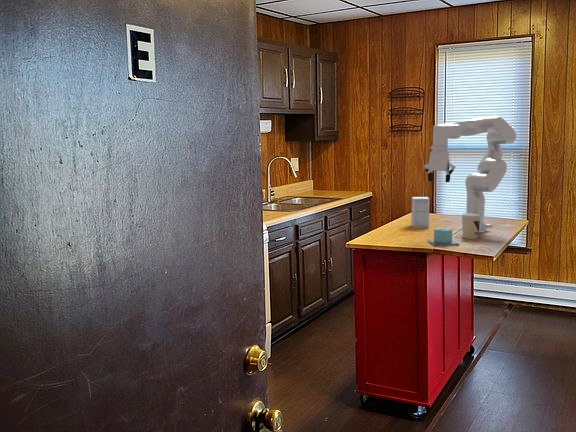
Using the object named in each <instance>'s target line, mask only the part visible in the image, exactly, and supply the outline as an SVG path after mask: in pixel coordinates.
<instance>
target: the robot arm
mask: <svg viewBox="0 0 576 432" xmlns="http://www.w3.org/2000/svg"><path fill="white" fill-rule="evenodd" d="M480 134H486V142H487V150H486V153H484V156H483V157H482V158H481V160H480V161H479V163H478V166H477V169H476V170H477V172H478V173H476V172H475V173H471V174H469V175H467V176H466V177H465V181H464V183H465V189H466V190H465V191H466V212H465V213H473V214H480V216H481V217H480V227H479V233H486V232H488V231H487V228H489V229H490V228H493V226H494V225H493V224H492V223H486V222H485V210H486V209H485V208H486V207H485V204H486V198H485V194H484V193H491V192H494V191H495V190H496V189H497V188H498V186H499V185H500V183H501V181H502V180H503V178H504V177H505V175H506V173H507V171H508V164H507V163H506V161H505V160H504V159H502V157H503V154H504V153H503V150H502V146H501V145H512V144H513V143H514V142H516V140H517V132H516V130H515V129H514V128H513V127H512V125H511V124H509V123H508V122H507V121H506V120H505V119H504V118H503V117H501V116H498V115H493V116H490V115H489V116H488V115H487V116H481V117H476V118H472V119H466V120H459V121H455V122H448V123H443V124H435V125H433V128H432V145H431V146H430V150H431V151H430V153H429V160H428V163H426V164H424V165H423V167H424V170H425V172H426V173H427V181H428V182H433V172H434V171H437V172H445V173H446V174H445V183H450V181H451V174H452V173H454V171H455V168H456V165H454V164H453V163H451V162H450V154H449V151H448V144H449V143H448V142H449V140H457V139H459V138H461V137H470V136H475V135H480Z"/></svg>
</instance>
